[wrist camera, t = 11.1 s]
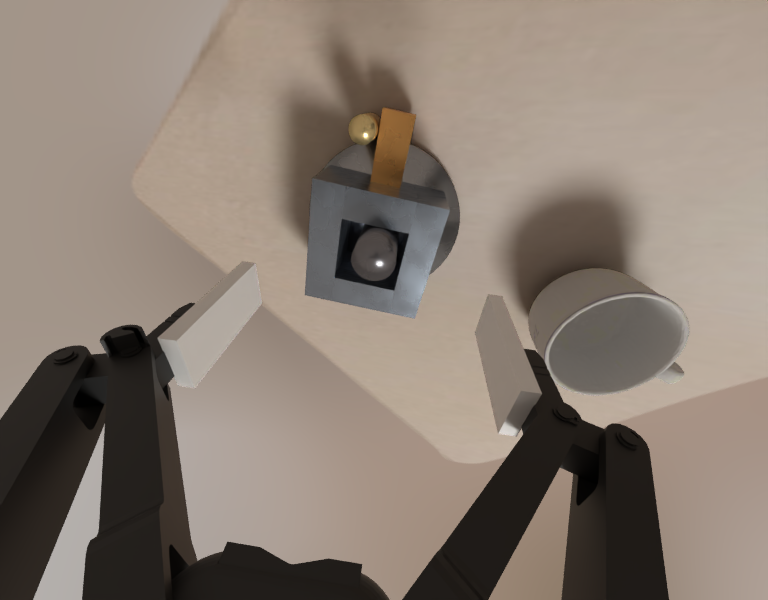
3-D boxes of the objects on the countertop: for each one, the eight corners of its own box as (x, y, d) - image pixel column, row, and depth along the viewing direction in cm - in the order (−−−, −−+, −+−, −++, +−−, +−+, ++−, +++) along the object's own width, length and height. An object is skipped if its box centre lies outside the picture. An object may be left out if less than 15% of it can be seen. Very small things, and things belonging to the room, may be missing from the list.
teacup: (497, 306, 33) (518, 358, 26) (589, 230, 28) (644, 271, 21) (578, 366, 37) (615, 425, 30) (672, 310, 31) (742, 366, 25)
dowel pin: (371, 106, 24) (362, 108, 20) (386, 127, 24) (380, 132, 20) (355, 123, 24) (342, 128, 20) (369, 143, 25) (360, 151, 21)
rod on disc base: (395, 96, 23) (387, 94, 16) (487, 234, 28) (511, 278, 21) (281, 209, 29) (237, 244, 22) (375, 306, 34) (365, 360, 27)
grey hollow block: (414, 287, 32) (414, 318, 27) (321, 266, 31) (304, 295, 27) (463, 126, 23) (475, 131, 19) (337, 95, 23) (317, 93, 18)
